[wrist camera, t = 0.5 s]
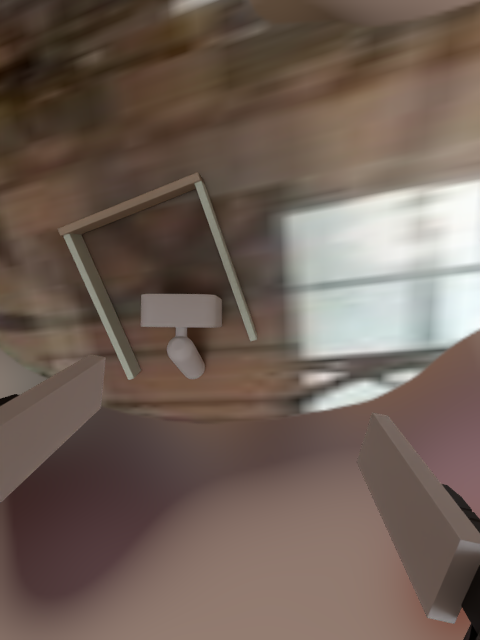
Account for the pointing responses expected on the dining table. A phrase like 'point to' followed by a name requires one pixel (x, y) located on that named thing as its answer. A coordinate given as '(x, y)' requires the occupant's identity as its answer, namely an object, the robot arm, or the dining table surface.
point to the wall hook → (182, 324)
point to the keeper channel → (95, 283)
